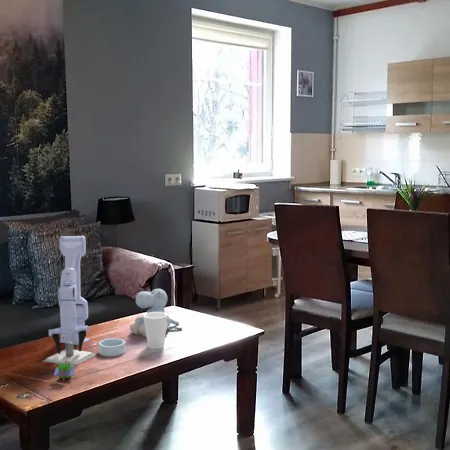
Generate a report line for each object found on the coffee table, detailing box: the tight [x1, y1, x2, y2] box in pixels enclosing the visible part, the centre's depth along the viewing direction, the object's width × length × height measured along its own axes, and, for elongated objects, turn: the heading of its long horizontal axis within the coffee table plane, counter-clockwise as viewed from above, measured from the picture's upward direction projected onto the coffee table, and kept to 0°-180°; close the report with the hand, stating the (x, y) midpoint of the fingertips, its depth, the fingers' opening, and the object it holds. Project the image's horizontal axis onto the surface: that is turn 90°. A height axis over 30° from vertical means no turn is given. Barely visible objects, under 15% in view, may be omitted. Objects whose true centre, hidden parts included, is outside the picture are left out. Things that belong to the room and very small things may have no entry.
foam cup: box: [142, 311, 168, 350], centre depth 242 cm, size 10×9×13 cm
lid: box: [46, 341, 93, 365], centre depth 229 cm, size 12×12×6 cm
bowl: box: [98, 337, 126, 357], centre depth 236 cm, size 10×10×4 cm
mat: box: [43, 353, 97, 367], centre depth 230 cm, size 14×14×1 cm
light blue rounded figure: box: [129, 288, 183, 338], centre depth 261 cm, size 18×23×18 cm
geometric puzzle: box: [53, 360, 76, 383], centre depth 208 cm, size 7×7×8 cm
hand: (69, 351), depth 230 cm, fingers open, 7 cm apart
